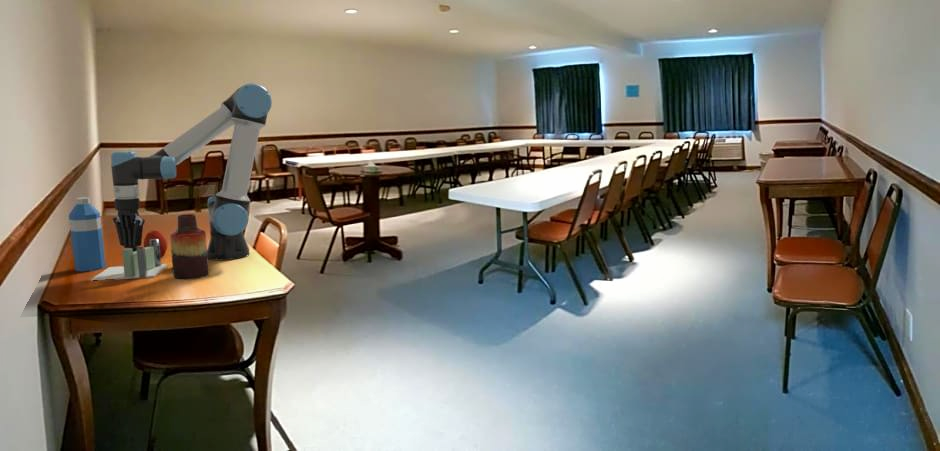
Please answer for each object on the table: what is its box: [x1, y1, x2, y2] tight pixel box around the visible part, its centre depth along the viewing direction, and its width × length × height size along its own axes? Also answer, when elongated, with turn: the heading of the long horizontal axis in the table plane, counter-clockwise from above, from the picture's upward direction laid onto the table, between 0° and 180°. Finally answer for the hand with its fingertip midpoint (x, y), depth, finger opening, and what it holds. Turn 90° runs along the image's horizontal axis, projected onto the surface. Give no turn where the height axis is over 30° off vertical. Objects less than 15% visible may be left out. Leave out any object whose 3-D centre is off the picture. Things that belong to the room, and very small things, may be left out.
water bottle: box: [68, 196, 106, 272], centre depth 229 cm, size 9×9×25 cm
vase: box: [169, 213, 210, 281], centre depth 216 cm, size 11×11×20 cm
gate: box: [121, 247, 155, 277], centre depth 220 cm, size 15×2×9 cm, turn 177°
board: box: [90, 263, 169, 282], centre depth 223 cm, size 19×18×1 cm
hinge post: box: [149, 239, 162, 267], centre depth 230 cm, size 3×3×10 cm
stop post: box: [136, 246, 147, 279], centre depth 215 cm, size 2×2×10 cm
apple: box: [143, 230, 168, 258], centre depth 248 cm, size 8×8×11 cm
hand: (132, 266), depth 222 cm, fingers closed
